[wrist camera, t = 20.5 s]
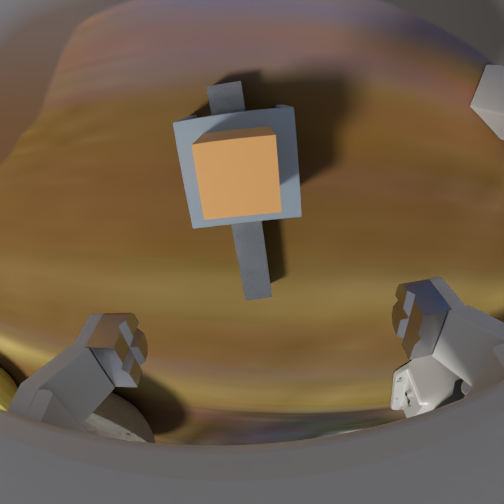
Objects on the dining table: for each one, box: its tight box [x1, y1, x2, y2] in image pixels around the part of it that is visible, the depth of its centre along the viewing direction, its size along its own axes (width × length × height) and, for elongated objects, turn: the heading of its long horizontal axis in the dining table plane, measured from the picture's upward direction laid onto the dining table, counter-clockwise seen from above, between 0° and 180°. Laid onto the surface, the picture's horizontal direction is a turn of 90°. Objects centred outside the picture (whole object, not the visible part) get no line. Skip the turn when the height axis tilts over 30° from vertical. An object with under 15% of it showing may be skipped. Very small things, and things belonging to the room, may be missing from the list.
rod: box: [207, 81, 272, 300], centre depth 30 cm, size 23×3×3 cm, turn 8°
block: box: [192, 126, 281, 220], centre depth 20 cm, size 5×5×5 cm
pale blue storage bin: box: [173, 104, 301, 229], centre depth 26 cm, size 9×9×7 cm
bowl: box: [82, 392, 155, 443], centre depth 48 cm, size 28×28×10 cm
